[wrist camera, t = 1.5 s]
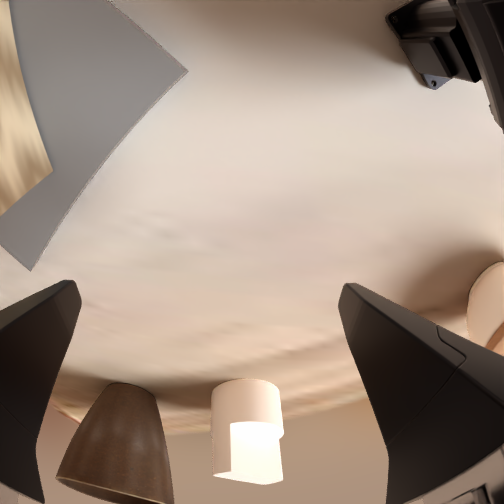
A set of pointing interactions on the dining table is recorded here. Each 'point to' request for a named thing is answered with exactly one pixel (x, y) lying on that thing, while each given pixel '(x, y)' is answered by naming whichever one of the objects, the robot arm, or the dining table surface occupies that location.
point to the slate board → (78, 103)
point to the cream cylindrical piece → (247, 431)
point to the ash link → (16, 124)
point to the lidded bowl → (487, 309)
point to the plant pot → (120, 450)
